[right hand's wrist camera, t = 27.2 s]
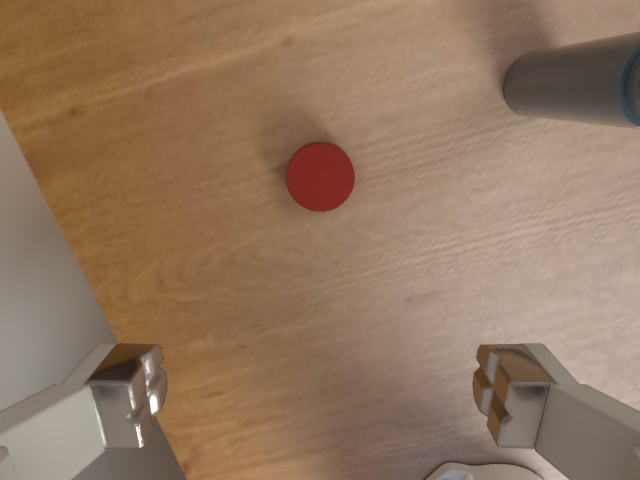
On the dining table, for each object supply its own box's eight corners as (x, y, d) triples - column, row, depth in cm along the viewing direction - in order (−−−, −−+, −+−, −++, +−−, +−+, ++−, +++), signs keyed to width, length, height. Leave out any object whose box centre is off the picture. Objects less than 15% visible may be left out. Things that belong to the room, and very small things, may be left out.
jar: (517, 44, 31) (671, 6, 18) (575, 59, 32) (771, 34, 18) (494, 108, 33) (619, 119, 19) (549, 122, 33) (711, 143, 20)
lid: (314, 218, 36) (313, 224, 35) (274, 168, 35) (272, 171, 33) (365, 181, 35) (367, 185, 34) (327, 127, 34) (327, 129, 32)
